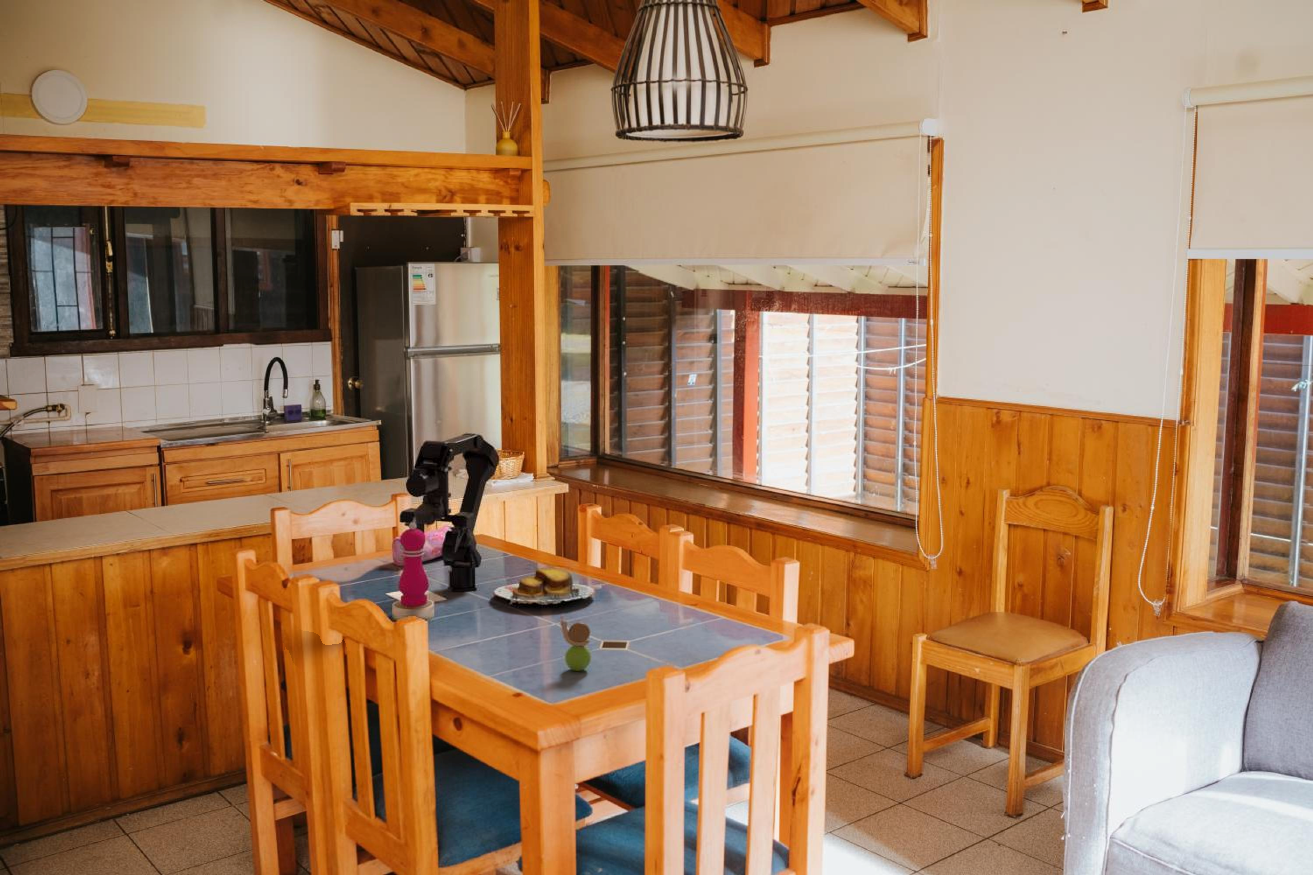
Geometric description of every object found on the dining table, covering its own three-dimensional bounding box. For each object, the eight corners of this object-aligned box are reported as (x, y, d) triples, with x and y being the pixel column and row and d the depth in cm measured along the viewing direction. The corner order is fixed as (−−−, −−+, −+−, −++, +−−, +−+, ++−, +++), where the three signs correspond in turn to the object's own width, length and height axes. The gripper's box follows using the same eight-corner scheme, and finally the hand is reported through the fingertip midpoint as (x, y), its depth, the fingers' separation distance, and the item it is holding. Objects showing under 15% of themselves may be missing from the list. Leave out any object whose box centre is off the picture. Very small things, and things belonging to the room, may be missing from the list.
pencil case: (408, 569, 332) (407, 538, 331) (387, 564, 338) (386, 533, 336) (464, 555, 349) (463, 526, 348) (443, 551, 354) (442, 521, 353)
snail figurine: (560, 666, 251) (560, 611, 249) (590, 665, 252) (590, 611, 250) (560, 674, 246) (560, 618, 244) (591, 674, 246) (591, 618, 245)
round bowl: (430, 608, 293) (430, 596, 292) (437, 619, 283) (437, 607, 283) (390, 612, 289) (389, 599, 289) (395, 623, 280) (394, 610, 280)
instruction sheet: (420, 588, 312) (420, 587, 312) (446, 599, 301) (446, 598, 301) (385, 594, 305) (385, 593, 305) (411, 606, 295) (411, 605, 295)
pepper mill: (414, 608, 281) (413, 527, 279) (392, 604, 285) (391, 523, 283) (435, 602, 287) (434, 522, 285) (413, 597, 291) (412, 518, 289)
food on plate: (473, 604, 298) (473, 578, 297) (530, 582, 320) (530, 558, 320) (560, 619, 286) (560, 592, 285) (612, 595, 308) (613, 570, 307)
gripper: (388, 493, 291) (389, 554, 293) (456, 498, 286) (457, 560, 288) (409, 486, 302) (410, 545, 304) (476, 490, 297) (476, 551, 299)
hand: (437, 550), depth 298 cm, fingers open, 9 cm apart
